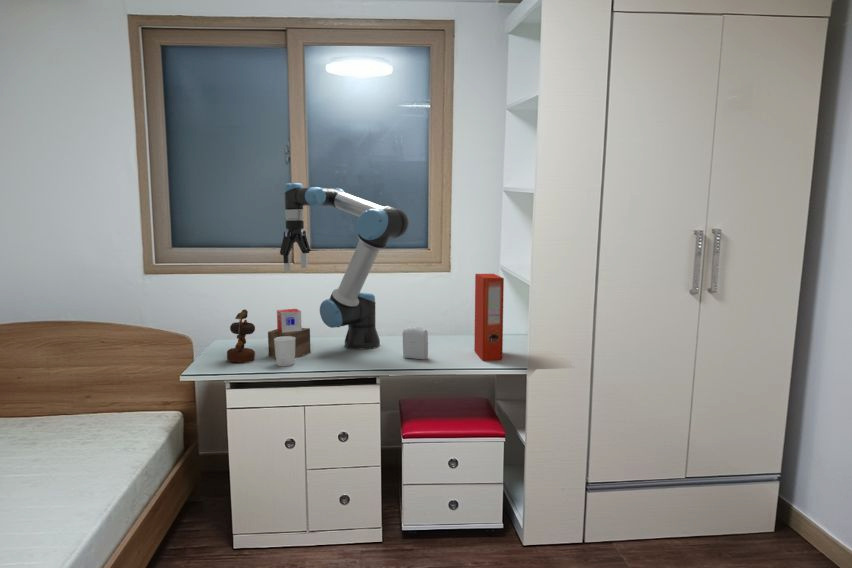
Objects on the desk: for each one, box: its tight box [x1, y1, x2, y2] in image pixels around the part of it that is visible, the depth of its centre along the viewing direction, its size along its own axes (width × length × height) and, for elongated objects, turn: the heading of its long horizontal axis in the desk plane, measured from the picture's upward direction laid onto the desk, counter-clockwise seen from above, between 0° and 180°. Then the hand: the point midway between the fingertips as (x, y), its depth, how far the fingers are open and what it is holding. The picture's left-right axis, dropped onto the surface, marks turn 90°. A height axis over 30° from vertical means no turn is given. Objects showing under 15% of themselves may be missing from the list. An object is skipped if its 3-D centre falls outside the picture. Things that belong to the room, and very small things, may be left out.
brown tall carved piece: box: [226, 308, 256, 363], centre depth 249 cm, size 15×11×20 cm
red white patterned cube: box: [276, 308, 303, 332], centre depth 257 cm, size 8×8×8 cm
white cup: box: [274, 336, 296, 367], centre depth 242 cm, size 8×8×10 cm
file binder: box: [473, 273, 505, 362], centre depth 252 cm, size 8×17×32 cm, turn 6°
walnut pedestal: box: [267, 327, 311, 359], centre depth 258 cm, size 12×12×10 cm
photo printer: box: [402, 326, 429, 360], centre depth 250 cm, size 10×4×12 cm, turn 65°
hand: (296, 269), depth 275 cm, fingers open, 13 cm apart
